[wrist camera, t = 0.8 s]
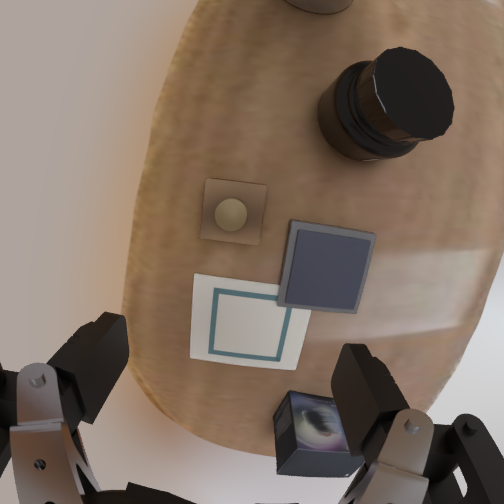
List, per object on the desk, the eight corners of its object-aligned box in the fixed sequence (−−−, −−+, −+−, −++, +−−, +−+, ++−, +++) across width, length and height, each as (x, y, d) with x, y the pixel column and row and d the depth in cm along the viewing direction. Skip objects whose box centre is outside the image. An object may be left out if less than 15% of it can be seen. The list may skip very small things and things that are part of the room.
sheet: (194, 273, 30) (194, 274, 29) (315, 288, 30) (316, 289, 30) (190, 356, 32) (189, 358, 32) (295, 369, 33) (295, 370, 33)
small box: (356, 398, 35) (377, 452, 24) (334, 426, 36) (349, 478, 26) (289, 387, 34) (298, 449, 24) (271, 417, 35) (274, 476, 25)
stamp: (214, 178, 27) (201, 178, 20) (265, 184, 27) (268, 186, 21) (208, 227, 28) (194, 243, 22) (257, 234, 29) (259, 252, 22)
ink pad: (290, 219, 28) (293, 221, 26) (371, 232, 28) (378, 235, 27) (276, 301, 30) (277, 308, 29) (353, 309, 31) (357, 315, 29)
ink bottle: (375, 179, 27) (443, 185, 15) (301, 139, 26) (334, 114, 14) (405, 105, 25) (473, 80, 13) (336, 64, 24) (379, 10, 12)
